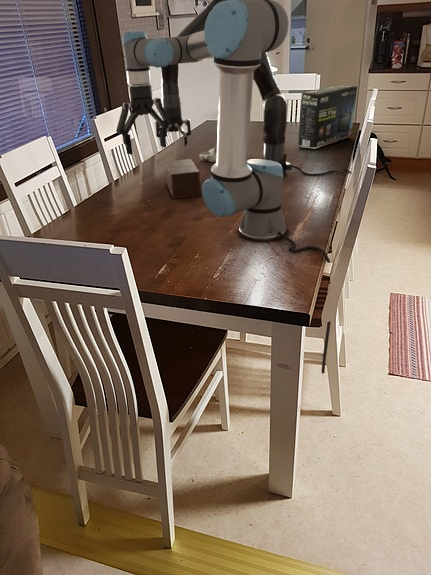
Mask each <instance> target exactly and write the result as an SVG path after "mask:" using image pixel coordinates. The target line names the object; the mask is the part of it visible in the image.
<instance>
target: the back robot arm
mask: <svg viewBox="0 0 431 575" xmlns="http://www.w3.org/2000/svg"><path fill="white" fill-rule="evenodd" d="M222 1H227V0H211V1H210V3H208V5H207V6H206V7H205V8H204V9H203V10H202V11H201V12H200V13H199V14H198V15H197V16H196V17H195V18H193V19H192V20H191V21H190V22H189V23H188V24H187V25H185V27H184V28H183V29H182V30H181V31H180V32H179V33H178V34H177V35H176V37H182V36H187V35H190V34H194V33H197V32H200V31H204V29H205V23H206V20H207V17H208V15H209V13H210V11H211V10H212V9H213V7H214V6H215V5H216V4H218V3H219V2H222ZM179 66H180V64H173V65H168V66H166V67H160V74H161V75H160V76H161V79H160V88H161V103H162V106H163V108H164V110H165V112H166V114H167V116H168V117H169V119H170V121H171V125H168V128H167V133H168V132H169V133H173V132H174V133H177V132H180V133H181V135H182V136H183V137H182V138H183V146H184V147H187V145H188V137H189V136H192V129H191V121H190V119H189V118H187V119H183V117H182V116H183V114H182V113H183V112H182V101H181V99H182V98H181V92H180V82H179V71H180V70H179V68H180V67H179ZM253 82H254V83H255V85H256V87H257V89H258V91H259V94H260V98H261V101H262V105H263V126H262V159H263V160H270V161H275V162H278V163H279V164H281V166H282V168H283V176H286V175H287V174H286V173H287V171H292V169H293V168H294V169H296V170H298V171H299V172H300V173H301V174H302V175H305V176H310V177H311V176H313V177H317V176H325V175H327V174H331V173H338V172H340V171H335V170H336V169H333V170H328V171H325V172H319V173H318V172H317V173H308V172H305V171H303V170H302V169H301V167H298V166H296V165H293V163H291V162H288V161H287V152H285V150H286V130H287V115H288V103H287V100H286V98H285V96H284V95H283V93H282V92H281V89H280V87H279V86H278V84H277V82H276V79H275V77H274V74H273V70H272V66H271V63H270V59H269V55H268V52H265V53H261V62H260V66H259V67H258V68H257V69H256V70H255V71H254V74H253ZM183 125H185V126H186V128H187V132H186V131H185V130H184V129H183V127H182V126H183ZM159 127H161V126H160V125H159V124H158V122H157V121H156V120H155V131H156V132H155V136H156V137H157V138H160V134H159ZM163 148H164V149H165V148H166V147H163ZM339 169H340V170H344V171H343V172H347V173H348V174H350V175H351V174H353V172H351V171H350V170H349V169H346V168H339Z"/></svg>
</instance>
